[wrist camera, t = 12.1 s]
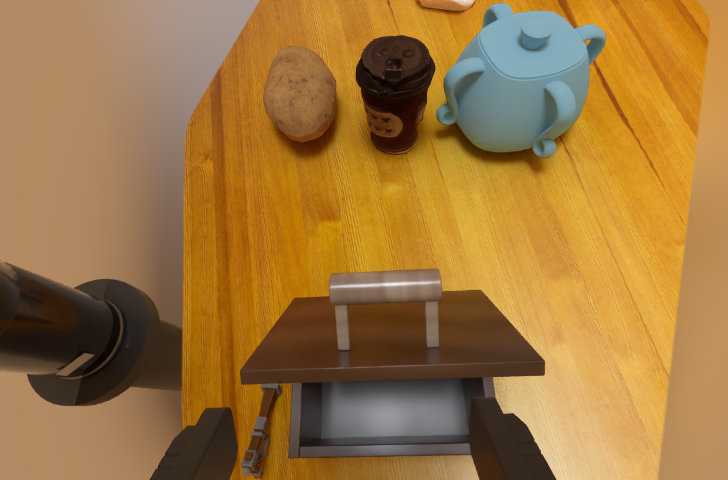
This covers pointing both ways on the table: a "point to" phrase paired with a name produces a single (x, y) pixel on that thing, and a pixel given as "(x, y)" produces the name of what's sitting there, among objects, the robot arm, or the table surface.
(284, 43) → the table surface
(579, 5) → the table surface
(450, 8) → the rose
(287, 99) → the potato
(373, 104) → the coffee cup
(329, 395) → the wooden storage box
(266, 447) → the wooden post with brackets
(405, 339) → the lid
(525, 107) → the decorative pot
